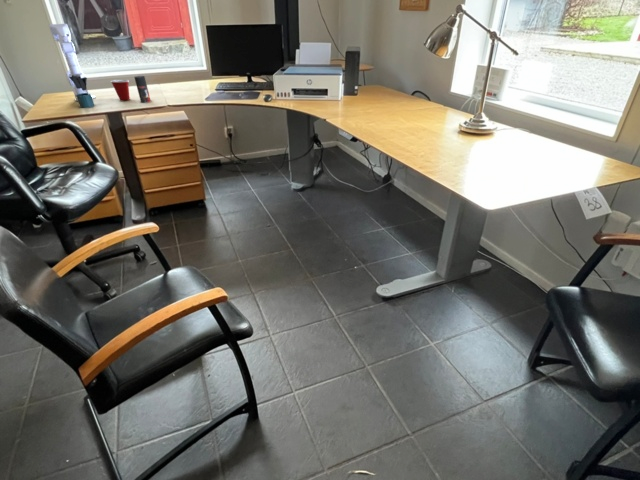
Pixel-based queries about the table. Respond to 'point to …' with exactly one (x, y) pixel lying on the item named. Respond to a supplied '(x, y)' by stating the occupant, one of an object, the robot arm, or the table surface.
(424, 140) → the table surface
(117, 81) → the plastic cup
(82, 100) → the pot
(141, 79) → the deodorant
